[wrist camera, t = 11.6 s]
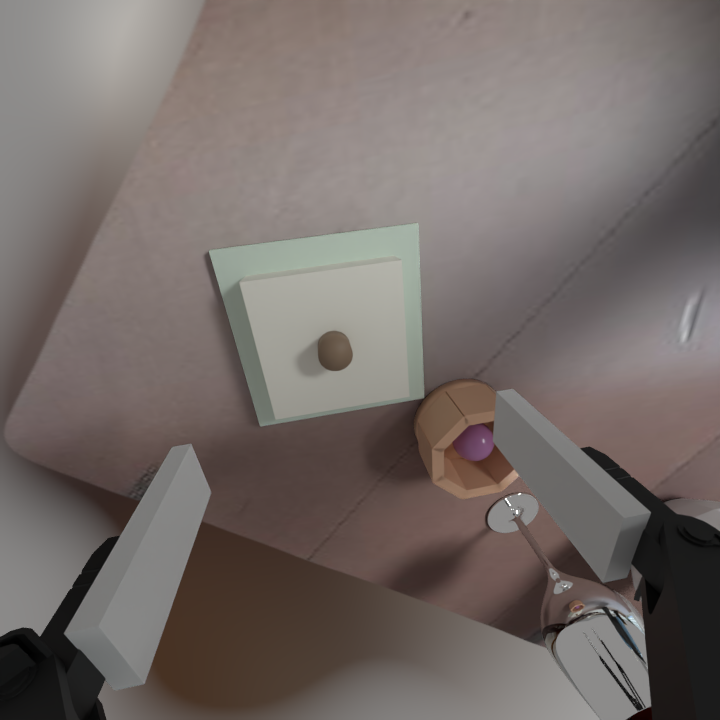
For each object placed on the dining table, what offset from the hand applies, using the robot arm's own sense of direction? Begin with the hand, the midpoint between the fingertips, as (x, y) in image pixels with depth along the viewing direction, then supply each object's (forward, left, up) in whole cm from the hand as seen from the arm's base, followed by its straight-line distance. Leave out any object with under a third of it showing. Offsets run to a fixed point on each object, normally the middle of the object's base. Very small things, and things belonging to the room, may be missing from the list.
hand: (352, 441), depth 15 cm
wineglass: (+26, +18, -15) cm, 35 cm away
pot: (+11, +11, -14) cm, 21 cm away
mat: (0, 0, -14) cm, 14 cm away
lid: (0, 0, -14) cm, 14 cm away
